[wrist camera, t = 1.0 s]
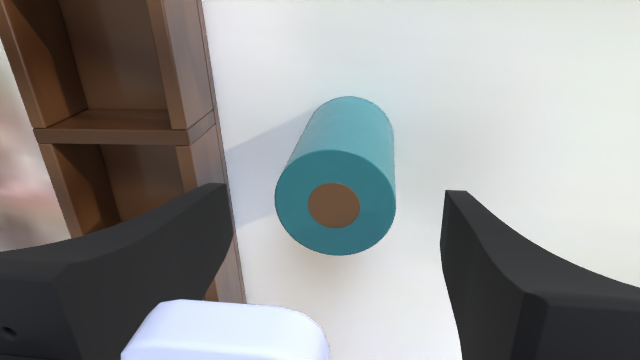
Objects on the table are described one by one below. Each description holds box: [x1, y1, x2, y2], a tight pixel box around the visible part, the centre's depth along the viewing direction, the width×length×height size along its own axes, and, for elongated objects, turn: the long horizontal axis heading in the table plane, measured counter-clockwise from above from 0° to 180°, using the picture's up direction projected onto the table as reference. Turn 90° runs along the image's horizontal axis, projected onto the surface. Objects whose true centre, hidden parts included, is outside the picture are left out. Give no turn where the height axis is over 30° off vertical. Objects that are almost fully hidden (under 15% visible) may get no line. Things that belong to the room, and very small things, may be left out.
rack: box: [0, 0, 246, 304], centre depth 21 cm, size 20×7×4 cm, turn 2°
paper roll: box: [275, 97, 396, 255], centre depth 17 cm, size 4×4×6 cm
